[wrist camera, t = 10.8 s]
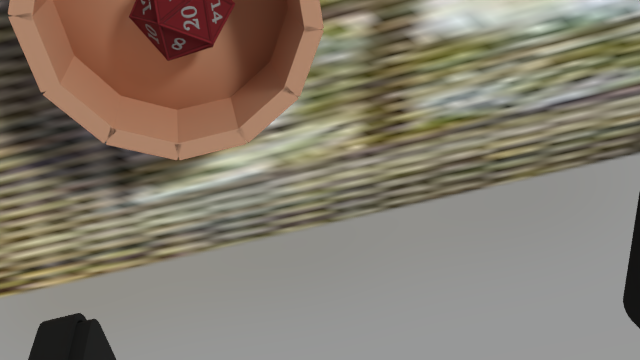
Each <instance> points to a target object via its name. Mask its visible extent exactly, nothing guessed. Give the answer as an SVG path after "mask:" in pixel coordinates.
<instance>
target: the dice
mask: <svg viewBox="0 0 640 360" xmlns="http://www.w3.org/2000/svg"><path fill="white" fill-rule="evenodd" d="M234 6H235V3H234V2H233V1H232V0H136V1H135V3H134V6H133V8H132V11H131V13H130V15H129V18H130V19H131V20H132V21H133V22H134V23H135V24H136V26H137V27H138V28H139V29H140V30H141V31H142V32H143V33H144V35H145V36H146V37H147V38H148V39H149V40H150V41H151V42H152V44H153V45H154V46H155V47H156V48H157V49H158V50H159V51H160V53H161V54H162V55H163V56H164V57H165V58H166V60H167V61H170V60H173V59H176V58H179V57H182V56H186V55H189V54H192V53H195V52H198V51H201V50H205V49H208V48H211V47H213V46H214V43H215V41H216V39H217V38H218V36H219V34H220V32H221V30H222V28H223V26H224V24H225V23H226V21H227V19H228V17H229V15H230V13H231V12H232V10H233V8H234Z"/></svg>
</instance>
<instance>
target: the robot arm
mask: <svg viewBox="0 0 640 360" xmlns="http://www.w3.org/2000/svg"><path fill="white" fill-rule="evenodd" d="M623 303H624V308H625V310H626V313H627V314H628V316H629V317H630V318H631V320H632V321H633V322H634V323H635V324H636V325H637V326H638V327H639V328H640V193H639V200H638V206H637V213H636V220H635V225H634V232H633V238H632V245H631V251H630V258H629V264H628V271H627V277H626V284H625V290H624V296H623ZM28 360H116V358H115V356H114V354H113V352H112V349H111V347H110V345H109V343H108V341H107V339H106V336H105V334H104V332H103V330H102V328H101V326H100V324H99V322H98V321H97V320H96V319H92V320H86V318H85V317H84V316H83V315H82V314H81V313H77V314H73V315H69V316H65V317H60V318H56V319H52V320H48V321H44V322H42V323H41V324H40V326H39V328H38V331H37V334H36V337H35V340H34V343H33V346H32V349H31V352H30V356H29V359H28Z"/></svg>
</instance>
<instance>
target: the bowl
mask: <svg viewBox="0 0 640 360" xmlns="http://www.w3.org/2000/svg"><path fill="white" fill-rule="evenodd" d="M135 1H136V0H10V2H9V9H8V14H9V15H10V16H9V17H8V18H9V20H10V22H11V25H12V27H13V29H14V32H15V34H16V36H17V38H18V41H19V43H20V45H21V48H22V50H23V52H24V55H25V57H26V59H27V61H28V64H29V66H30V68H31V71H32V73H33V75H34V78H35V80H36V82H37V85H38V87H39V89H40V91H41V92H44V93H43V95H44V96H45V97H46V98H47V99H49V100H50V101H51V102H52V103H54V104H55V105H56V106H57V107H59V108H60V109H61V110H62V111H64V112H65V113H66V114H67V115H69V116H70V117H71V118H72V119H74V120H75V121H76V122H77V123H79V124H80V125H81V126H82V127H84V128H85V129H86V130H87V131H89V132H90V133H91V134H92V135H94V136H95V137H96V138H97V139H99V140H100V141H101V142H102V143H105V142H106V141H107V143H106V145H110V146H115V147H119V148H124V149H128V150H133V151H137V152H142V153H146V154H151V155H155V156H160V157H164V158H169V159H173V160H177V159H178V157H179V160H183V159H187V158H191V157H195V156H199V155H203V154H207V153H211V152H216V151H220V150H224V149H228V148H232V147H236V146H240V145H244V144H246V141H247V142H248V143H249V142H250V141H251V140H252V139H253V138H254V137H255V136H257V135H258V134H259V133H260V132H261V131H262V130H263V129H265V128H266V127H267V126H268V125H269V124H270V123H271V122H272V121H274V120H275V119H276V118H277V117H278V116H279V115H280V114H281V113H283V112H284V111H285V110H286V109H287V108H288V107H289V106H291V105H292V104H293V103H294V102H295V101H296V100H297V99H298V97H297V96H300V95H301V92H302V89H303V86H304V84H305V81H306V78H307V75H308V73H309V70H310V67H311V64H312V62H313V59H314V56H315V53H316V50H317V48H318V45H319V42H320V39H321V37H322V34H323V30H322V29H323V28H324V27H323V20H322V14H321V8H320V1H319V0H232V1H233V2H234V3H235V6H234V8H233V10H232V12H231V13H230V15H229V17H228V19H227V21H226V23H225V24H224V26H223V28H222V30H221V32H220V34H219V36H218V38H217V39H216V41H215V43H214V46H213V47H211V48H208V49H205V50H201V51H198V52H195V53H192V54H189V55H186V56H182V57H179V58H176V59H173V60H170V61H167V60H166V58H165V57H164V56H163V55H162V54H161V53H160V51H159V50H158V49H157V48H156V47H155V46H154V45H153V44H152V42H151V41H150V40H149V39H148V38H147V37H146V36H145V35H144V33H143V32H142V31H141V30H140V29H139V28H138V27H137V26H136V24H135V23H134V22H133V21H132V20H131V19H130V18H129V15H130V13H131V11H132V8H133V6H134V3H135ZM245 140H246V141H245Z"/></svg>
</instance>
